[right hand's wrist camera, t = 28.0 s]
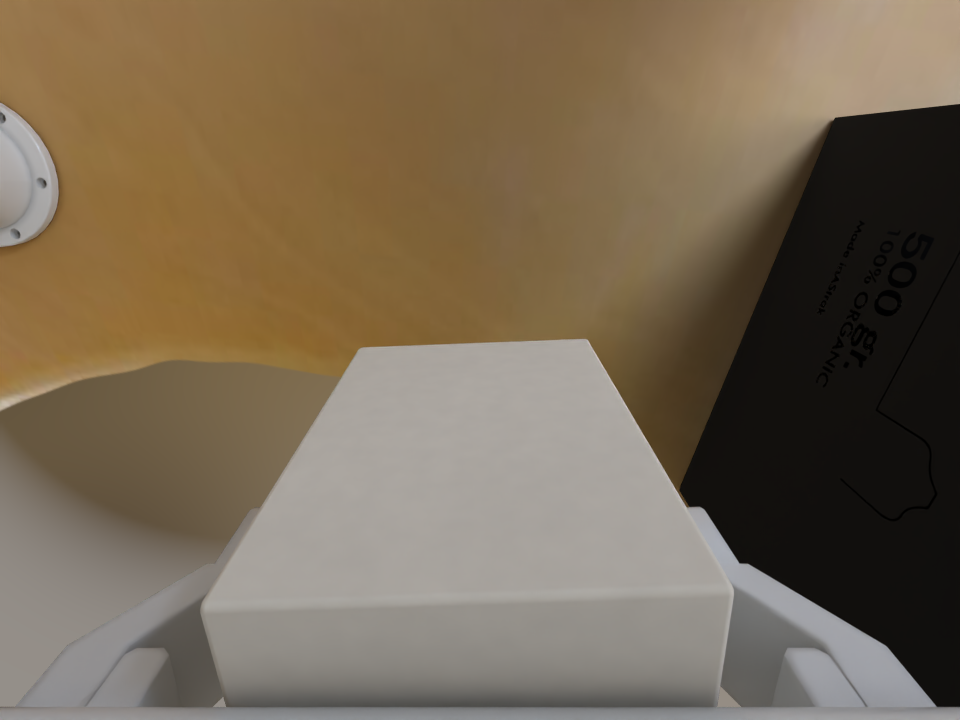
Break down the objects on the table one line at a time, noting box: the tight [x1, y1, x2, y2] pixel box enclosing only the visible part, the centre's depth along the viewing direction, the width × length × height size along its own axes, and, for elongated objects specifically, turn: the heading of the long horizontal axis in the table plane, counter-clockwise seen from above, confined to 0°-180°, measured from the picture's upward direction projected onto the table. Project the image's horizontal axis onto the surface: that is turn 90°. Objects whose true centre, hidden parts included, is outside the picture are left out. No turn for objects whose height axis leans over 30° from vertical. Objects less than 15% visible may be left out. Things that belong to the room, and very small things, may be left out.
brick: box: [200, 339, 734, 707], centre depth 10 cm, size 5×5×8 cm
